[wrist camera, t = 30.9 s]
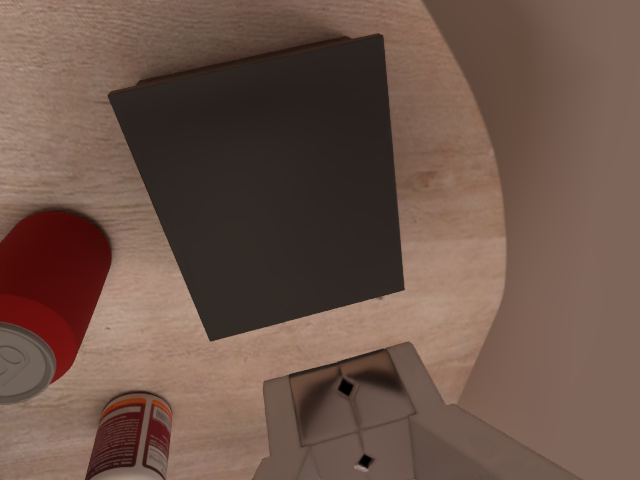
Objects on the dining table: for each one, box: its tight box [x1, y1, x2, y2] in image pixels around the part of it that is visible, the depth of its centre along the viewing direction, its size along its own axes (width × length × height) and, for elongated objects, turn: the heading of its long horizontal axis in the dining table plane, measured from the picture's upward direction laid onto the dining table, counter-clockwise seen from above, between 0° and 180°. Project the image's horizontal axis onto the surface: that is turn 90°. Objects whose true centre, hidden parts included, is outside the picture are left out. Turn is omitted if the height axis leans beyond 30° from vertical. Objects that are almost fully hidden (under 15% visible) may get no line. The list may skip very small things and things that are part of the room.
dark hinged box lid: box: [108, 34, 405, 342], centre depth 26 cm, size 16×14×1 cm
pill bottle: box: [85, 393, 172, 480], centre depth 37 cm, size 6×6×11 cm
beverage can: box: [0, 212, 111, 405], centre depth 28 cm, size 7×7×12 cm
